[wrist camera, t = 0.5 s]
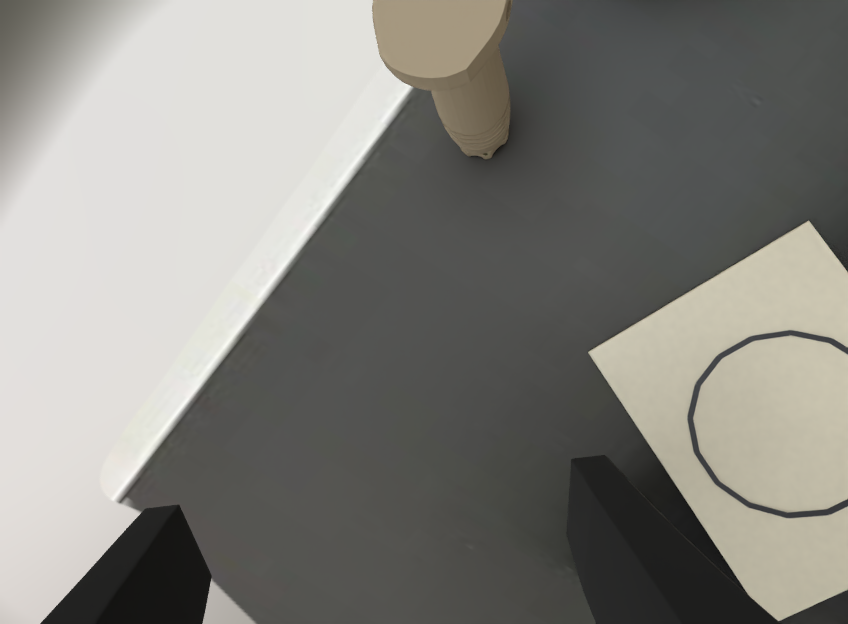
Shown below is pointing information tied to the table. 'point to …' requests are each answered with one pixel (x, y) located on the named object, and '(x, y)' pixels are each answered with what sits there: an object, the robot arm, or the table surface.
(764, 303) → the drawing pad
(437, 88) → the handle
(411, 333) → the table surface
